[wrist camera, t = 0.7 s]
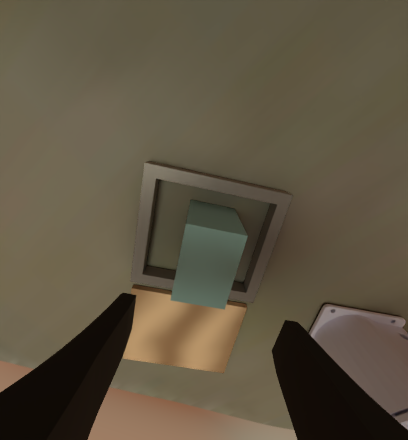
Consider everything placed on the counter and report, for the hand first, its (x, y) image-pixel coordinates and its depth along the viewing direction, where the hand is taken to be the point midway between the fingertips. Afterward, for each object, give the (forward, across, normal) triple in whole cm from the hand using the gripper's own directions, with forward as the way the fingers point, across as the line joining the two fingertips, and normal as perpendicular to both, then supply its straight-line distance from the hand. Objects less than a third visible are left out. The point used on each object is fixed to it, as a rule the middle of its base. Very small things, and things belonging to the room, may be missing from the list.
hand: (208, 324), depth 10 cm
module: (+10, 0, 0) cm, 10 cm away
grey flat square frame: (+10, 0, 0) cm, 10 cm away
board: (+10, 0, +12) cm, 16 cm away
